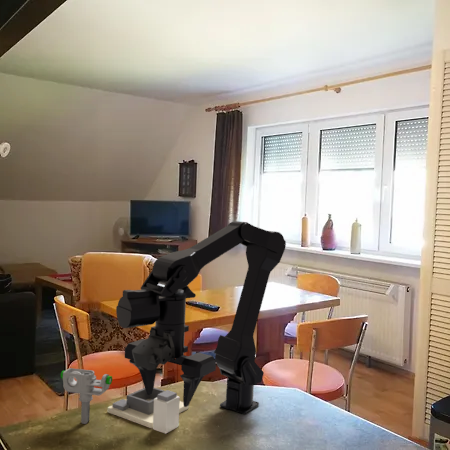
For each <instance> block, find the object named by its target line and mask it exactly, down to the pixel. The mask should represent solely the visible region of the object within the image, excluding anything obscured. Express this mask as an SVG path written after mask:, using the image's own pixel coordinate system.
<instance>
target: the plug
mask: <svg viewBox="0 0 450 450" xmlns="http://www.w3.org/2000/svg"><path fill="white" fill-rule="evenodd" d="M180 398H181V397H180V396H179V395H178V393H177V392H174V391H171V390H169V389H166V390H164V392H162V393H160V394H157V398H155V399H154V413H153V428H152V430H154V431H157V432H160V433H163V434H167V433H170V432H171V431H173V430H175V429H177V428H178V427H179V423H180V413H179V404H180V401H181V399H180Z"/></svg>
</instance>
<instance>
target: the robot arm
mask: <svg viewBox="0 0 450 450" xmlns="http://www.w3.org/2000/svg"><path fill="white" fill-rule="evenodd" d="M286 243H287V242H286V240H285V238H284V236H283V234H282V233H281V232H280V231H274V230H273V231H272V230H266V229H263V228H260V227H258V226H255V225H253V224H251V223H249V222H248V221H239V220H237V221H236V220H233V221H231V222H229V223H228V224H227V225H226V226H225V227H223V228H222V229H220V230H218V231H216V232H214V233H212V234H211V235H209V236H208V237H206V238H204V239H203V240H201V241H199V242H197V243H196V244H194V245H192V246H190V247H189V248H186V249H182V250H177V251H173V252H170V253H168V254H165V255H161V256H160V257H158V258H157V259H156V260H155V261H154V262H153V267H152V270H151V272H150V273H149V274H148V275H147V277H146V279H145V281H144V282H143V283H142V285H141V286H140V289H134V290H133V289H124V290H122V296H121V297H120V298H119V300H118V301H117V302H118V303H117V305H116V307H115V314H116V319H117V322H118V324H119V326H120V327H121V328H122V329H130V328H137V327H143V326H144V327H145V326H151V325H152V326H151V327H150V330H149V335H148V338H141V339H138V340H135V341H132V342H129V343H128V344H126V347H124V359H127V360H128V362H129V363H130V364H132V365H133V366H135V367H136V368H137V369H138V371H139V374H140V376H141V379H142V382H143V387H144V388H145V389H146V393H147V395H151V394H152V392H153V388H155V381H156V375H157V370H158V369H157V368H158V366H159V365H160V364H161V365H165V364H167V363H171V364H175V365H178V366H180V367H181V372H182V373H183V374H180V375H179V377H180V379H181V380H182V381H183V393H182V395H183V397H182V402H183V404H184V407H187V406H188V405H189V406H190V403H191V401H192V399H193V397H194V395H195V393H196V391H197V388H198V387H199V385H200V383H201V381H202V380H203V378H204V377H205V376H207V375H209V374H210V373H211V374H212V373H214V372H216V369H217V367H218V368H219V371H220V375H222V376H225V377H226V378H227V380H226V390H225V392H226V394H225V400H224V401H222V402H221V403H220V404H219V407H221V408H224V409H227V410H230V411H234V412H237V413H240V414H243V415H244V414H247V413H248V412H250V411H252V410H253V409H255V408H257V407H258V406H259V405H260V402H259V401H255V400H254V389H255V388H254V386H257V385H258V384H260V383H262V381H263V377H264V373H265V372H264V371H263V370H262V369H261V368H260V366H259V365H258V364H257V363H256V355H257V354H256V353H257V348H256V343H255V340H254V333H255V330H256V326H257V323H258V319H259V315H260V312H261V307H262V304H263V301H264V296H265V292H266V289H267V286H268V281H269V278H270V274H271V272H272V271H273V270H274V269H275V268H276V267H277V266H278V265H279V263H280V262H281V260H282V258H283V255H284V252H285V250H286V245H287V244H286ZM239 245H242V246H245V247H246V249H245V257H246V261H247V271H246V275H245V279H244V283H243V286H242V289H241V293H240V297H239V300H238V304H237V307H236V312H235V315H234V319H233V323H232V325H231V328H230V330H229V332H228V333H226V335H225V336H224V335H222V334H220V335H219V337H218V338H217V345H216V347H215V350H214V352H213V353H214V354H215V356H213V355H210V354H205V353H202V352H197V353H194V354H191V355H189V356H188V355H184V354H186V353H188V352H189V346H188V345H185V333H187V332H189V331H190V327H189V325H187V324H186V302H187V301H186V300H187V299H192V298H195V297H196V296H197V295H196V293H195V292H193V291H192V289H190V287H189V285H190V284H191V283H192V282H193V281H194V280H195V279H196V278H198V276H199V273H200V272H201V270H202V269H203V268H204V267H205V266H207V265H208V264H210V263H212V262H213V261H215V260H216V259H217V258H219V257H221V256H222V255H224V254H225V253H227V252H229V251H231V250H233V249H234V248H235V247H237V246H239ZM154 324H155V325H154ZM153 325H154V326H153ZM216 365H217V367H216Z"/></svg>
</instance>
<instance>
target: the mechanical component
mask: <svg viewBox="0 0 450 450" xmlns="http://www.w3.org/2000/svg"><path fill="white" fill-rule="evenodd" d="M60 379H61V380H62V381H63V382H62V383H63V385H62V386H63V389H64V390H65V391H66V392H67V393H76V394H79V398H78V400H79V401H80V402H81V409H80V410H81V412H80V413H81V414H80V417H81V418H80V423H81V424H84V425H85V424H87V425H88V422H90V413H91V412H90V409H91V403H90V402H92V400H93V396H102V395H103V394H104V393H105V392H106V391H108V390H109V389H110V385H111V384H112V383H113V376H112V375H110V374H107V373H105V374H103V375H102V377H101V379H97V375H95V371H94V370H92V369H91V370H90V369H82V368H72V367H69V368H68V369H66V370H64V369H63V370H62V371H61V372H60ZM98 387H99V388H98Z"/></svg>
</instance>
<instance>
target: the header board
mask: <svg viewBox="0 0 450 450" xmlns="http://www.w3.org/2000/svg"><path fill="white" fill-rule="evenodd" d="M164 391H165V390H164V389H161V388H157V387H154V388H153V392H152V394H151V395H147V393H146V389H145V387H142V388H140V389H138V390H136V391H134V392H131V393H129V394H127V395H126V399H123V398H122V399H120V400H116V401H115V402H113V403H112V405H109V406H108V407H107V413H108V414H111V415H115V416H117V417H119V418H123V419H125V420H128V421H130V422H133V423H135V424H139V425H141V426H144V427H147V428H149V429H153V413H154V399H155V398H157V394H160V393H162V392H164ZM189 406H190V404H189V405H188V406H187V407H184V404H183V401H181V400H180V404H179V414H181V413H182V412H185V411H186V410H188V409H189Z"/></svg>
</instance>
